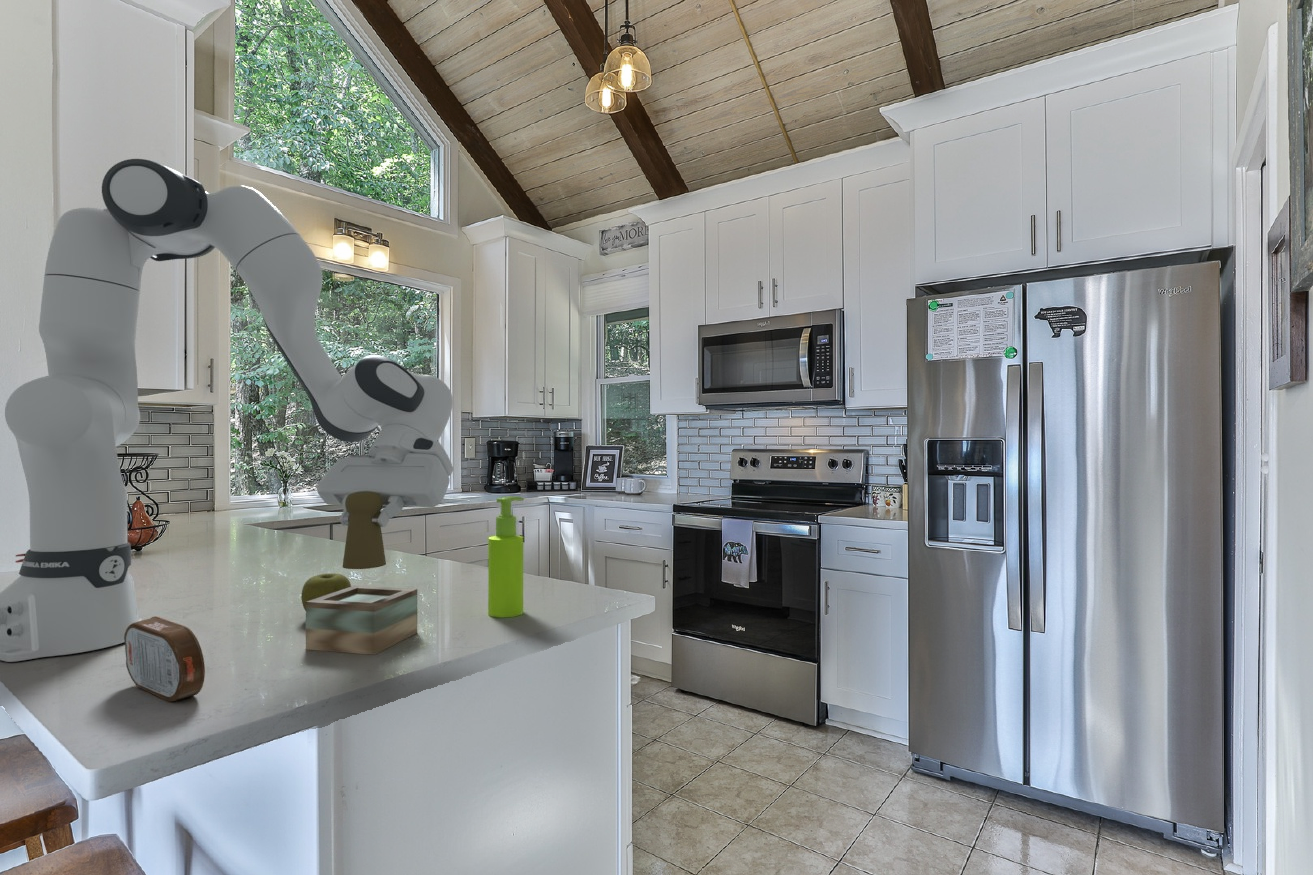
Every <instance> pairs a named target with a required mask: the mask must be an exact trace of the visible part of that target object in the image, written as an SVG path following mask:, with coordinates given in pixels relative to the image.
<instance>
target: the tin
mask: <svg viewBox="0 0 1313 875" xmlns="http://www.w3.org/2000/svg"><path fill="white" fill-rule="evenodd" d="M196 636H197V635H196V634H194V632H193V631H192V630H191V628H189V627H188V626H186V625H183V624H180V623H177V622H173V621H171V620H167V619H166V618H163V617H160V616H152V617H150V618H147V619H142V621H138V622H135V623H132V624H131V625H129V626H128V628H127V629H126V632H125V635H124V640H125V642H124V647H125V648H124V649H125V651H124V652H125V657H126V658H125V659H126V660H125V665H126V669H127V672H128V675H129V677H130V679H131V680H132V682H133V684H134V685H135V686H136V687H137V688H139V689H141V690H143V691H145V692H148V693H149V694H152V695H154V696H156V697H158V698H160V699H162V700H165V701H167V702H170V703H171V702H177V701H180V700H182V699H186V698H188V697H193V696H197V695H198V694H199V693H200V692H201V691H202V688H203V687H204V682H205V677H206V674H205V673H206V670H205V669H206V667H205V666H206V664H205V659H204V658H205V657H204V653H203V650H202V646H201V645H200V642H199V640H198V638H197V637H196Z"/></svg>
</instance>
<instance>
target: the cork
mask: <svg viewBox="0 0 1313 875" xmlns="http://www.w3.org/2000/svg"><path fill="white" fill-rule="evenodd" d="M345 507H346V511H347V512H348V513H349V522H348V526H347V528H346V539H345V545H344V552H343V561H342V568H343V569H348V570H365V569H368V570H369V569H376V568H380V567H383V566H385V565H387V560H386V554H385V548H384V541H383V540H384V539H383V533H382V527H377V526H376V525H375V524H373V523H372V518H373V517H374V514H375V513H377V512H378V511H382V510H383V507H384V506H383V500H382V497H381V495H380V494H379V493H376V492H371V491H359V492H355V493H351V494H349V495H348V496H347V498H346V501H345Z"/></svg>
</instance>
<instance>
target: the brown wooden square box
mask: <svg viewBox="0 0 1313 875" xmlns="http://www.w3.org/2000/svg"><path fill="white" fill-rule="evenodd" d="M416 634H418V588H407V587H404V588H403V587H388V586H387V587H386V586H373V585H371V586H367V585H351V587H349V588H346V589H343V590H340V591H337V592H334V593H331V594H328V595H325V596H322V597H319V598H316V599H313V600H310V601H307V602H306V611H305V650H312V651H321V652H323V651H324V652H336V653H347V654H348V653H350V654H360V655H361V654H364V655H376V654H378V653H380V652H382V651H384V650H386V649H389V648H390V647H392V646H394V645H396V644H398V643H400V642H402V641H404V640H406V639H407V638H410V637H412V636H414V635H416Z"/></svg>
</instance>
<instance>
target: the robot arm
mask: <svg viewBox="0 0 1313 875" xmlns="http://www.w3.org/2000/svg"><path fill="white" fill-rule="evenodd" d="M101 195H102V200H103V203H104V205H105V207H106V208H103V209H101V208H98V207H97V208H95V207H79V208H73V209H71V210H68V211H66V212H64V213H63V214H62V215H61V216H60V217H59V219H58V221H57V224H56V227H55V229H54V231H53V232H54V233H53V235H52V238H51V240H50V241H51V242H50V245H49V248H48V252H47V257H46V262H45V268H44V276H43V284H42V285H43V286H42V294H41V304H40V314H39V324H38V331H39V332H38V334H39V335H40V338H41V340H42V344H43V347H44V350H45V351H44V352H45V358H46V366H47V372H48V374H47V375H46V376H41V377H37V378H35V379H32V380H30V381H28V382H25V383H23V384H22V385H20V386H19V387H17V388H16V389H15V390H14V391H13V392H12V393H11V394H10V396H9V397H8V399H7V400H6V403H5V408H4V417H5V419H4V420H5V422H6V426H8V428H9V430H10V431H11V433H12V434H13V435H14V438H15V439H16V443H17V448H18V453H19V458H20V461H21V462H20V463H21V465H22V469H23V470H22V471H23V473H24V477H25V481H26V486H27V491H28V499H29V500H28V502H29V549H27V551H26V552H25V553H18V554H15V557H23V558H21V559H18V560H15V563H17V564H18V563H21V566H20V569H19V572H18V574H19V577H18V578H16V579H15V580H14V581H13V582H11V583H10V584H9V585H8V586H6V587H5V588H4V589H2V590H1V591H0V661H3V662H7V663H9V662H11V663H12V662H13V663H14V662H20V661H21V662H22V661H27V660H32V659H39V658H46V657H47V658H48V657H55V656H65V655H72V654H78V653H84V652H90V651H91V652H92V651H95V650H100V649H104V648H109V647H113V646H117V645H119V644H122V643H125V640H124V635H125V632H126V629H127V628H128V626H129V625H131V624H132V623H135V622H138V621H142V620H143V618H139V614H138V606H137V605H138V604H137V597H136V596H137V595H136V589H135V582H134V578H133V576H132V574H130V572H129V567H130V566H131V565H132V556H133V550H132V547H131V546H132V544H131V542H129V541H128V490H127V487H126V485H125V484H124V480H123V476H122V472H121V467H120V463H119V458H118V452H117V447H119V446H120V445H122V444H123V443H125V442H126V441H127V440H128V439H130V437H132V436H133V435H134V434H135V432H136V430H137V429H138V427H139V425H140V421H141V412H140V408H139V388H138V385H139V384H138V372H137V371H138V369H137V368H138V367H137V359H136V358H137V357H136V338H137V337H136V335H137V326H138V325H137V323H138V317H139V316H138V314H139V307H140V306H139V305H140V304H139V303H140V294H141V282H142V275H143V269H144V267H145V264H146V262H147V260H149V259H151V260H154V261H155V262H165V261H171V260H173V261H174V260H184V259H185V260H186V259H196V258H201V257H203V256H206V255H207V254H209V253H210V252H213V250H214V249H217V250H218V251H219V252H220V253H221V254H222V255H223V257H225V259H227V261H228V262H229V263H230V265H231V267H232V268H233V269H234V270H235V271H236V273H237V274H238V276H240V278H241V280H243V282H244V284H245V285H246V287H247V289H248V290H249V291H250V293H251V295H252V297H253V298H254V301H255V302H256V304H257V307H258V308H259V310H260V314H261V315H262V316H261V317H262V319H263V322H264V325H265V327H266V330H267V331H268V333H269V336H270V338H271V339H272V342H273V343H274V344H275V346H276V348H277V349H278V351H279V353H280V354H281V356H282V357H283V358H284V361H286V363H287V366H289V368H290V370H291V371H292V373H293V374H294V376H295V377H296V379H297V381H298V382H299V383H300V386H301V387H302V389H303V390H304V391H305V393H306V395H307V397H308V399H309V401H310V404H311V407H312V410H313V414H314V416H315V419H316V421H317V423H318V424H319V427H321V428H322V430H323V431H324V432H325V433H326V434H328V435H330V437H332V438H335V439H336V440H339V441H342V442H347V443H358V442H362V441H364V440H365V439H368V437H370V436H371V435H372V433H374V432H375V430H376V429H377V428H378V427H379V426H380V427H381V429H380V431H379V433H378V435H377V437H376V439H375V440H374V442H373V443H372V445H371V447H370V448H369V450H368V454H360V455H359V454H350V455H348V456H346V457H342V458H341V459H338V460H337V461H336V462H335V463H334V464H333V465H332V466H331V467H330V468H329V469H328V470H327V471H326V473H325V474H324V476H322V478H321V480H320V481H319V482H318V483H317V486H316V492H317V494H318V496H319V497H320V498H321V500H322V501H323V502H324V503H325V504H326V505H329V506H331V505H332V506H342V513H341V515H340V516H339V520H338V521H339V522H340V524H341V525H342V526H345V527H348V522H349V513H348V512H347V511H346V507H345V501H346V498H347V496H348V495H349V494H351V493H355V492H359V491H371V492H376V493H379V494H380V495H381V497H382V500H383V506H382V507H384V508H382V509H381V511H378V512H377V513H375V514H374V517H373V518H372V523H373V524H375V525H376V526H377V527H381V528H385V527H386V526H387V525H388V523H389V521H390V520H391V519H392V518H394V517H395V516H396V515H397V514H399V513H400V512H401V511H402V510H403V508H404V507H405V508H406V507H410V508H411V507H413V508H415V507H417V508H418V507H419V508H435V507H436V506H438V505H440V504H441V503H442V501H443V500H444V498H445V496H446V494H447V490H448V488H449V485H450V476H451V475H452V473H453V472H454V467H453V463H452V461H451V459H450V457H449V455H448V453H447V452H446V450H445V448H444V447H443V445H442V444H441V443H440V442H439V441H438V440H439V439H441V436H442V435H443V433H444V431H445V428H446V427H447V424H448V421H449V420H450V416H451V414H452V410H453V407H454V405H453V403H454V400H453V399H454V398H453V395H452V392H451V390H450V388H449V387H448V385H447V384H446V383H445V382H444V381H442V380H441V379H440V378H438V377H436V376H435V375H430V374H417V373H415V372H411V371H409V370H407V369H406V368H404V367H403V365H402V364H399V363H398V361H395V360H394V359H393V358H390V357H387V356H385V355H379V354H378V355H377V354H372V355H367V356H364V357H362V358H360V359H359V361H357V362H356V363H355V364H354V365H353V366H352V367H351V368H350V369H349V370H348V371H346V373H345V374H344V375H343V376H341V374H340V373H339V371H338V369H337V367H336V366H335V364H334V363H333V361H332V360H331V358H330V357H329V355H328V353H327V352H326V350H325V349H324V347H323V345H322V344H321V342H320V340H319V338H318V335H317V333H316V332H317V331H316V326H315V324H316V321H315V319H316V311H317V307H318V306H317V305H318V302H319V299H320V295H321V292H322V288H323V279H324V277H323V271H322V270H323V269H322V267H321V265H320V263H319V260H318V259H317V257H316V255H315V253H314V251H313V250H312V248H310V246H309V244H307V242H306V240H304V238H303V237H302V236H301V234H300V233H299V232H298V230H297V229H296V228H295V227H294V226H293V224H292V223H291V222H290V221H289V220H288V219H287V218H286V216H285V215H284V214H283V213H282V212H281V211H280V210H279V209H278V208H277V207H276V206H275V204H273V203H272V202H271V201H270V200H269V199H267V197H265V196H264V195H263V194H262V193H261V192H260V191H258V190H257V189H255V188H253V187H250V186H246V185H233V186H231V185H230V186H227V187H225V188H223V189H222V188H221V189H220V190H217V191H216V192H207V191H206V190H205V188H204V186H203V184H202V183H201V182H200V181H198V180H197V179H196V180H195V179H194V178H192V177H189V176H188V175H185V174H183V173H181V172H179V171H177V170H176V169H173V168H171V167H169V166H166V165H164V164H162V163H159V162H157V161H153V160H150V159H144V158H143V159H142V158H129V159H125V160H122V161H119V162H117V163H115V164H114V165H113V166H111V167H110V168H109V169H108V170H107V172H106V173H105V175H104V177H103V179H102V183H101Z"/></svg>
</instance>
